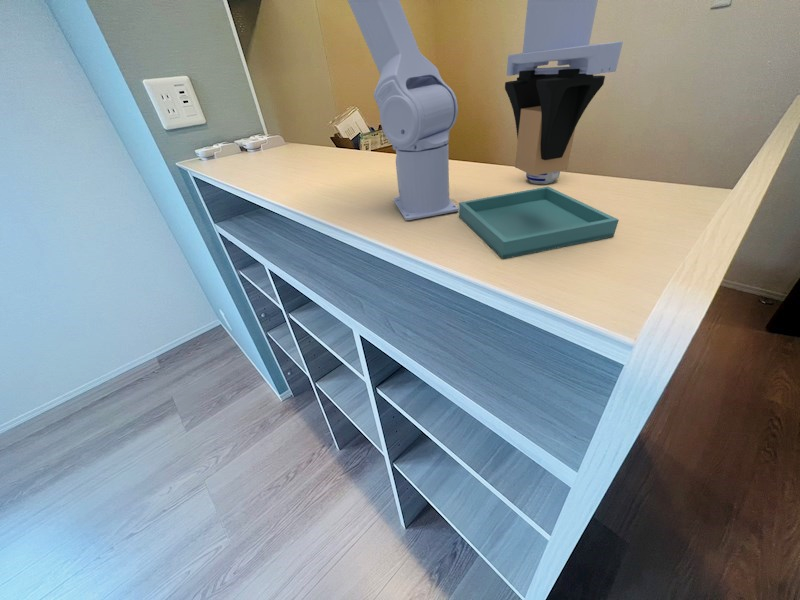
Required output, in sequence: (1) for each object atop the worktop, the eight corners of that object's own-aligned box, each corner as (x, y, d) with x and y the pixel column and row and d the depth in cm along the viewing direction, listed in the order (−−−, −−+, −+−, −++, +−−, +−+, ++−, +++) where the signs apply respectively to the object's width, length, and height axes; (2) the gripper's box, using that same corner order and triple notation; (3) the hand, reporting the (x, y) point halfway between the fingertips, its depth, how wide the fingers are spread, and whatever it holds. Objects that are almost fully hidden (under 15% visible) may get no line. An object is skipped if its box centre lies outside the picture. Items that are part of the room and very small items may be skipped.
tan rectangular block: (514, 167, 38) (521, 108, 34) (546, 162, 38) (555, 103, 35) (533, 175, 35) (542, 111, 31) (567, 169, 35) (579, 106, 31)
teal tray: (459, 216, 45) (459, 202, 44) (545, 200, 46) (548, 186, 45) (502, 259, 34) (504, 242, 33) (613, 236, 36) (618, 219, 34)
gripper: (682, -46, 22) (622, 162, 30) (556, -3, 34) (536, 138, 42) (589, -37, 21) (553, 174, 29) (493, 3, 33) (485, 146, 41)
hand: (539, 154), depth 35 cm, fingers closed on tan rectangular block, 4 cm apart
